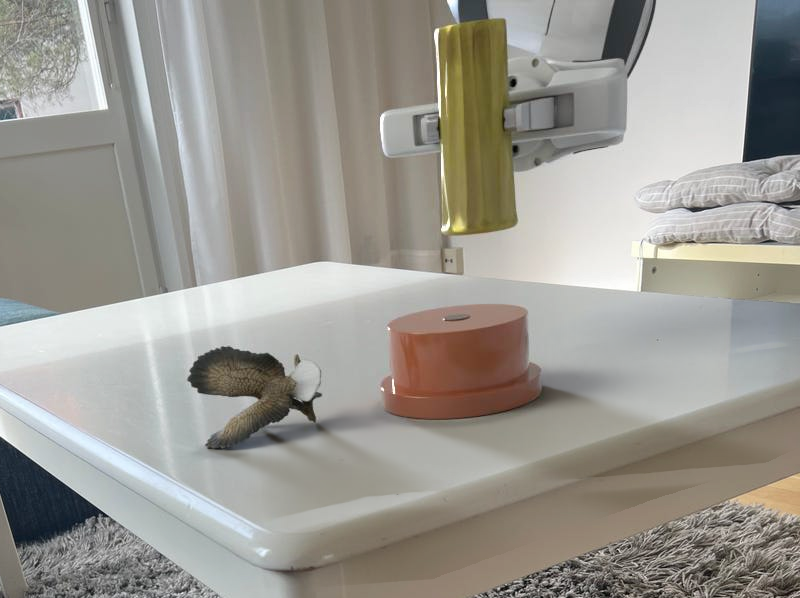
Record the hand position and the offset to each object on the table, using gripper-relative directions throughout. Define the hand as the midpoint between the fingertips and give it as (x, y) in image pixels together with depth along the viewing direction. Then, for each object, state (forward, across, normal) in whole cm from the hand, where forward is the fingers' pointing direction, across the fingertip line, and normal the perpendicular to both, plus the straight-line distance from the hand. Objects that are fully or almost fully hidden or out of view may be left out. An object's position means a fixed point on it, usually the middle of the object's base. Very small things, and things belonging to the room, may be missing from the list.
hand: (470, 124), depth 75 cm
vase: (-1, 0, +8) cm, 8 cm away
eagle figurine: (+19, -11, +19) cm, 29 cm away
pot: (+8, +1, +19) cm, 21 cm away
